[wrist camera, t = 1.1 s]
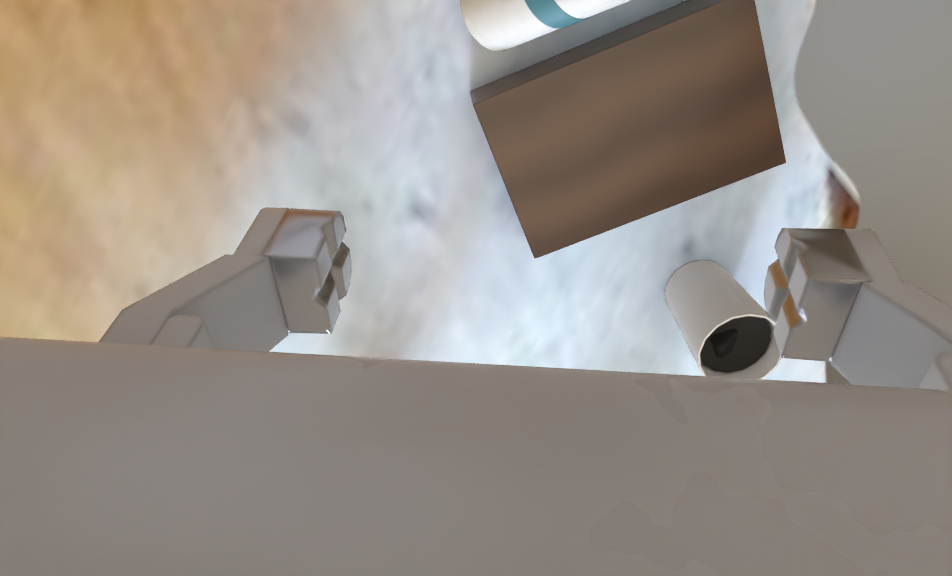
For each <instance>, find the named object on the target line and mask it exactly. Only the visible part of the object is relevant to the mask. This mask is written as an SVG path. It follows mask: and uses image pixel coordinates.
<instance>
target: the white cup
mask: <svg viewBox="0 0 952 576" xmlns="http://www.w3.org/2000/svg"><path fill="white" fill-rule="evenodd" d="M665 301H666V303H667V305H668V307H669V309H670V311H671V313H672V315H673V317H674V319H675V321H676V323H677V325H678V327H679V329H680V331H681V333H682V335H683V337H684V339H685V341H686V343H687V345H688V347H689V349H690V351H691V353H692V355H693V357H694V359H695V361H696V363H697V365H698V367H699V369H700V370H701V372H702V374H703V375H704V376H707V377H725V378H743V379H763V378H765V377H767V376H768V375H769V374H770V373H771V372H772V371H773V370H774V369H775V368H776V367H777V366H778V364H779V362H780V360H781V355H780V352H779V349H778V346H777V343H776V339H775V336H774V333H773V331H774V328H775V325H776V321H774V320H773V319H772V318H770V317H769V316H768V314H767V312H766V311H765V310H764V309H763V308H762V307H761V306H760V305H759V304H758V303H757V302H756V301H755V300H754V299H753V298H752V297H751V296H750V295H749V294H748V293H747V292H746V290H745V289H744V288H743V287H742V286H741V285H740V284H739V283H738V282H737V281H736V280H735V279H734V278H733V277H732V276H731V275H730V274H729V273H728V272H727V271H726V270H725V269H724V268H723V267H722V266H720V265H719V264H717V263H716V262H712V261H706V260H699V261H694V262H689V263H687V264H686V265H684V266H682V267H680V268H679V269H677V270H676V272H675V273H674V274H673V275H672V276H671V277H670V278H669V280H668V283H667V286H666V288H665Z"/></svg>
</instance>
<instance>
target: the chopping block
mask: <svg viewBox="0 0 952 576" xmlns="http://www.w3.org/2000/svg"><path fill="white" fill-rule="evenodd" d="M470 94H471V98H472V102H473V106H474V108H475V111H476V113H477V116H478V118H479V121H480V123H481V126H482V128H483V131H484V133H485V136H486V138H487V141H488V143H489V146H490V148H491V151H492V153H493V156H494V158H495V161H496V163H497V166H498V168H499V171H500V173H501V176H502V178H503V181H504V183H505V186H506V188H507V191H508V193H509V196H510V198H511V201H512V203H513V206H514V208H515V211H516V213H517V216H518V218H519V221H520V223H521V226H522V228H523V231H524V233H525V236H526V238H527V241H528V243H529V246H530V248H531V251H532V253H533V256H534V258H538V257H541V256H543V255H546V254H549V253H551V252H554V251H556V250H559V249H562V248H564V247H567V246H569V245H572V244H575V243H577V242H580V241H582V240H585V239H588V238H590V237H593V236H596V235H598V234H601V233H603V232H606V231H609V230H611V229H614V228H616V227H619V226H622V225H624V224H627V223H630V222H632V221H635V220H637V219H640V218H643V217H645V216H648V215H650V214H653V213H656V212H658V211H661V210H663V209H666V208H669V207H671V206H674V205H677V204H679V203H682V202H684V201H687V200H690V199H692V198H695V197H697V196H700V195H703V194H705V193H708V192H710V191H713V190H716V189H718V188H721V187H724V186H726V185H729V184H731V183H734V182H737V181H739V180H742V179H744V178H747V177H750V176H752V175H755V174H757V173H760V172H763V171H765V170H768V169H771V168H773V167H776V166H778V165H781V164H784V163H786V160H785V155H784V150H783V145H782V140H781V134H780V129H779V124H778V119H777V114H776V109H775V104H774V98H773V93H772V88H771V83H770V78H769V73H768V68H767V63H766V57H765V52H764V47H763V42H762V37H761V32H760V27H759V22H758V16H757V11H756V6H755V1H754V0H688V1H686V2H683V3H681V4H678V5H676V6H674V7H671V8H669V9H666V10H664V11H662V12H659V13H657V14H654V15H652V16H650V17H647V18H645V19H642V20H640V21H638V22H635V23H633V24H630V25H628V26H626V27H623V28H621V29H618V30H616V31H614V32H611V33H609V34H606V35H604V36H602V37H599V38H597V39H595V40H592V41H590V42H587V43H585V44H583V45H580V46H578V47H575V48H573V49H571V50H568V51H566V52H563V53H561V54H559V55H556V56H554V57H551V58H549V59H547V60H544V61H542V62H539V63H537V64H535V65H532V66H530V67H527V68H525V69H523V70H520V71H518V72H516V73H513V74H511V75H508V76H506V77H504V78H501V79H499V80H496V81H494V82H492V83H489V84H487V85H484V86H482V87H480V88H477V89H475V90H472V91H470Z"/></svg>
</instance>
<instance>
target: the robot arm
mask: <svg viewBox="0 0 952 576" xmlns="http://www.w3.org/2000/svg"><path fill="white" fill-rule="evenodd" d="M345 232H346V227H345V222H344V217H343V215H342V213H341V212H340V211H328V210H310V209H293V208H291V209H289V208H267V207H266V208H263V209H261V210H260V212H259V213H258V215H257V217H256V218H255V220H254V222H253V223H252V225H251V226H250V228H249V230H248V231H247V233H246V235H245V236H244V238H243V240H242V241H241V243H240V244H239V246H238V248H237V249H236V251H235V253H234V254H233V255H224V256H222V257H220V258H218V259H217V260H215V261H213V262H211V263H209V264H207V265H205V266H203V267H202V268H200V269H198V270H196V271H194V272H192V273H190V274H188V275H187V276H185V277H183V278H181V279H179V280H177V281H175V282H173V283H172V284H170V285H168V286H166V287H164V288H162V289H160V290H158V291H156V292H155V293H153V294H151V295H149V296H147V297H145V298H143V299H141V300H140V301H138V302H136V303H134V304H132V305H130V306H128V307H126V308H125V309H123V310H122V311H121V312H120V314H119V315H118V316H117V318H116V319H115V320H114V322H113V323H112V324H111V326H110V327H109V329H108V330H107V331H106V333H105V334H104V335H103V337H102V338H101V339H100V341H99V342H84V341H66V340H48V339H30V338H12V337H0V576H952V307H951V306H949V305H948V304H946V303H944V302H943V301H941V300H939V299H938V298H936V297H934V296H932V295H931V294H929V293H927V292H926V291H924V290H922V289H921V288H919V287H917V286H915V285H914V284H904V282H903V281H902V279H901V277H900V275H899V274H898V272H897V270H896V268H895V267H894V265H893V263H892V261H891V260H890V258H889V256H888V255H887V253H886V251H885V249H884V247H883V246H882V244H881V242H880V241H879V239H878V237H877V235H876V234H875V232H874V231H872V230H871V229H802V228H782V229H781V231H780V233H779V235H778V237H777V241H776V244H775V249H776V252H777V255H778V258H779V259H777V260H776V261H775V262H774V263H772V264H771V265H770V266H769V268H768V272H767V276H766V279H765V289H764V300H765V307H766V310H767V314H768V316H769V317H770V318H772V319H773V320H774V321H776V325H775V328H774V331H773V333H774V336H775V339H776V343H777V346H778V349H779V352H780V355H781V358H791V359H804V360H817V361H830V364H831V365H832V366H834V368H835V369H836V370H837V371H839V372H840V373H841V374H842V375H843V376H844V377H845V378H846V379H847V380H848V381H849V382H850V383H851V384H852V385H849V384H833V383H815V382H797V381H779V380H761V379H743V378H725V377H707V376H689V375H671V374H654V373H636V372H618V371H600V370H582V369H564V368H547V367H529V366H511V365H493V364H475V363H458V362H440V361H422V360H404V359H386V358H368V357H351V356H333V355H315V354H297V353H279V352H269V351H270V350H271V349H272V348H273V347H274V346H276V345H277V344H278V343H279V342H280V341H282V340H283V339H284V338H285V337H286V336H288V333H321V334H332V331H333V329H334V326H335V323H336V321H337V318H338V315H339V313H340V306H339V300H340V299H342V298H343V297H344V296H346V294H347V291H348V288H349V286H350V279H351V256H350V249H349V248H348V247H347V246H346V245H345V244H344V243H343V242H342V239H343V237H344V234H345Z"/></svg>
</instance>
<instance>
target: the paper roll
mask: <svg viewBox="0 0 952 576" xmlns="http://www.w3.org/2000/svg"><path fill="white" fill-rule="evenodd" d="M628 1H631V0H460V6H461V11H462V15H463V19H464V21H465V24H466V26H467V28H468V30H469V31H470V33H471V34H472V36H473V37H474V38H475V39H476V40H477V41H478V42H479V43H480V44H481V45H482V46H484V47H486V48H488V49H490V50H493V51H504V50H507V49H510V48H512V47H515V46H517V45H520V44H522V43H525V42H527V41H530V40H532V39H535V38H537V37H540V36H542V35H545V34H547V33H550V32H553V31H555V30H558V29H560V28H565V27H567V26H570V25H572V24H575V23H577V22H580V21H583V20H585V19H588V18H589V17H591V16H593V15H595V14H598V13H600V12H603V11H605V10H608V9H610V8H613V7H616V6H618V5H621V4H623V3H626V2H628Z"/></svg>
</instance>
